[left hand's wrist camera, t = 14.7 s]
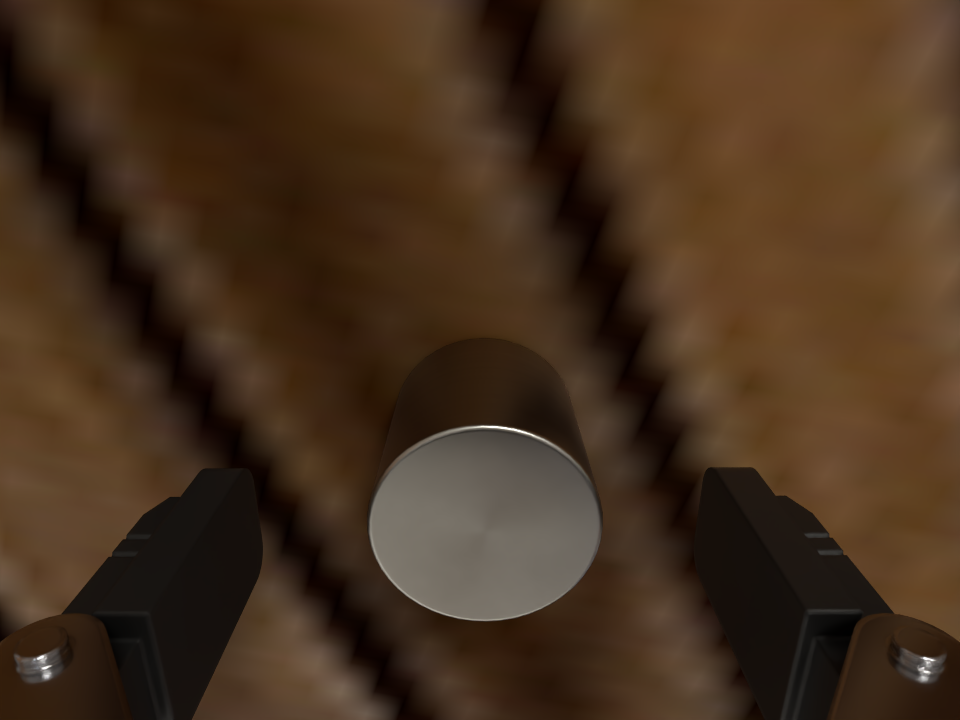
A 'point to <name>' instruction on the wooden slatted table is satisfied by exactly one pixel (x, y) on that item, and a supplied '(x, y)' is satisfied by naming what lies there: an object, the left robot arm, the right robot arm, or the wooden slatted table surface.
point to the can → (484, 485)
